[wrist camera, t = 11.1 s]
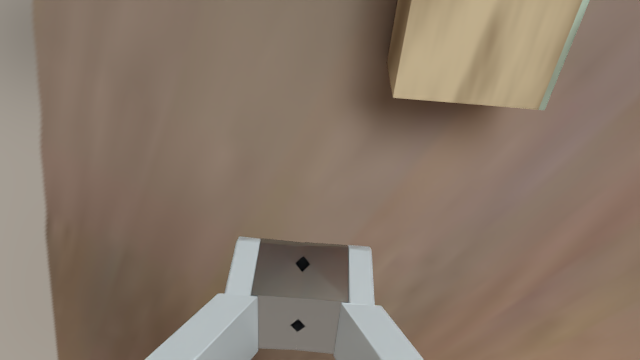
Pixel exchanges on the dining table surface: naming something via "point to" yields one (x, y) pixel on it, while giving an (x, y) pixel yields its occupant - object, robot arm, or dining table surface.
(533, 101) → the oak block
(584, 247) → the dining table surface
